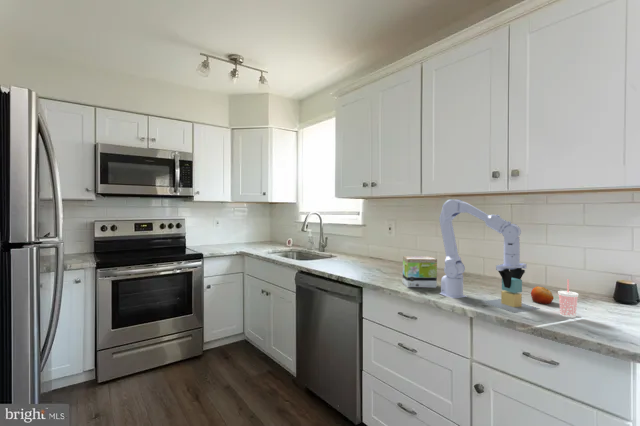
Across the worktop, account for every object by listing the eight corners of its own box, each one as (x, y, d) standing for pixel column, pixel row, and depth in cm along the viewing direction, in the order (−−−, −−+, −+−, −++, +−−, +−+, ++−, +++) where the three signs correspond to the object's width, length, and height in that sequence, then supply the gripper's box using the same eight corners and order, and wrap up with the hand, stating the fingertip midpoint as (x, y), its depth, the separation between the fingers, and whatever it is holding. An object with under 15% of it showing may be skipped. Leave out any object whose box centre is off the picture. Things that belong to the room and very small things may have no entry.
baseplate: (480, 302, 141) (480, 301, 141) (505, 299, 146) (505, 298, 146) (514, 314, 126) (514, 312, 126) (540, 310, 131) (540, 308, 131)
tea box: (407, 288, 167) (407, 258, 167) (402, 283, 177) (402, 255, 177) (437, 287, 167) (437, 258, 167) (430, 283, 177) (430, 255, 177)
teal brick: (501, 289, 138) (501, 277, 138) (508, 288, 139) (508, 276, 139) (514, 293, 132) (514, 280, 132) (521, 292, 134) (522, 279, 134)
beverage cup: (569, 314, 126) (569, 277, 126) (582, 319, 120) (583, 280, 120) (553, 314, 126) (554, 277, 125) (566, 319, 120) (566, 281, 119)
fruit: (527, 295, 146) (538, 281, 143) (545, 307, 142) (557, 293, 139) (524, 299, 140) (535, 285, 137) (543, 312, 136) (555, 297, 133)
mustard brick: (501, 303, 138) (501, 291, 138) (508, 302, 140) (508, 290, 139) (514, 307, 133) (514, 294, 132) (521, 306, 134) (521, 293, 134)
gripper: (506, 256, 129) (506, 291, 130) (533, 254, 134) (533, 287, 135) (491, 253, 136) (491, 286, 136) (517, 252, 141) (517, 283, 141)
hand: (511, 287), depth 136 cm, fingers closed on teal brick, 4 cm apart
